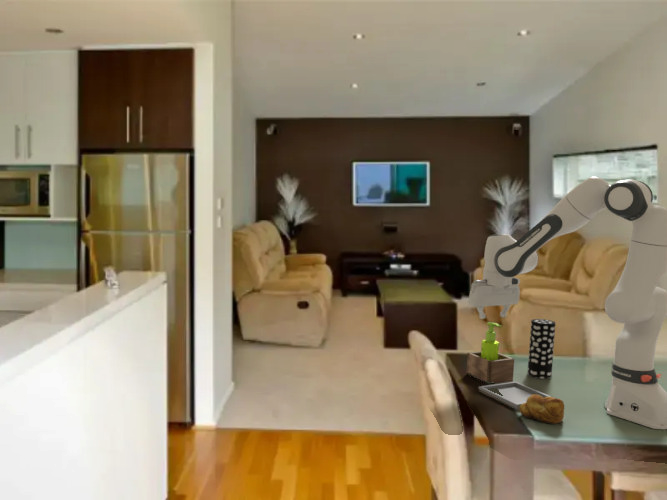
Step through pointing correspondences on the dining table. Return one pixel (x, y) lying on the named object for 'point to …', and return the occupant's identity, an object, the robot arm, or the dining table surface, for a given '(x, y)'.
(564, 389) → the dining table surface
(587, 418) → the dining table surface
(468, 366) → the walnut box
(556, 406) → the bread roll
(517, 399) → the grey tray
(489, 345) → the soap dispenser
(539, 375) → the white-spotted black cylinder
